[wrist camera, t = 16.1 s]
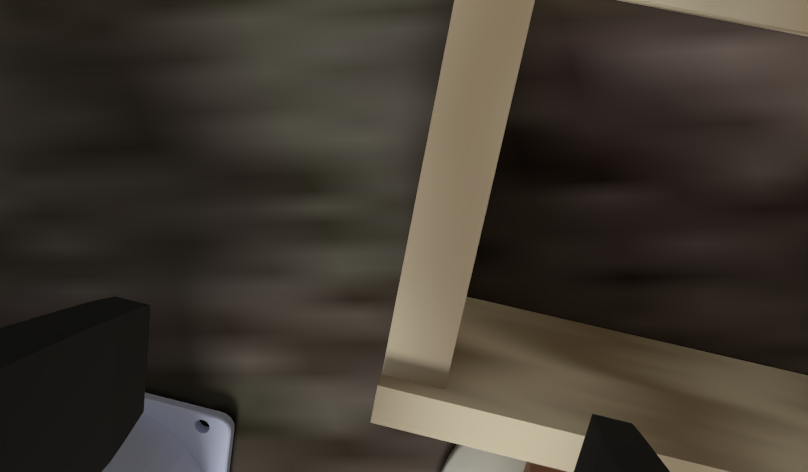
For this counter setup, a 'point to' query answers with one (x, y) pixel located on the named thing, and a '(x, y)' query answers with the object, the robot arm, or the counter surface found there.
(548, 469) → the block
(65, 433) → the robot arm
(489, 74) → the cubby
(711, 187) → the counter surface
